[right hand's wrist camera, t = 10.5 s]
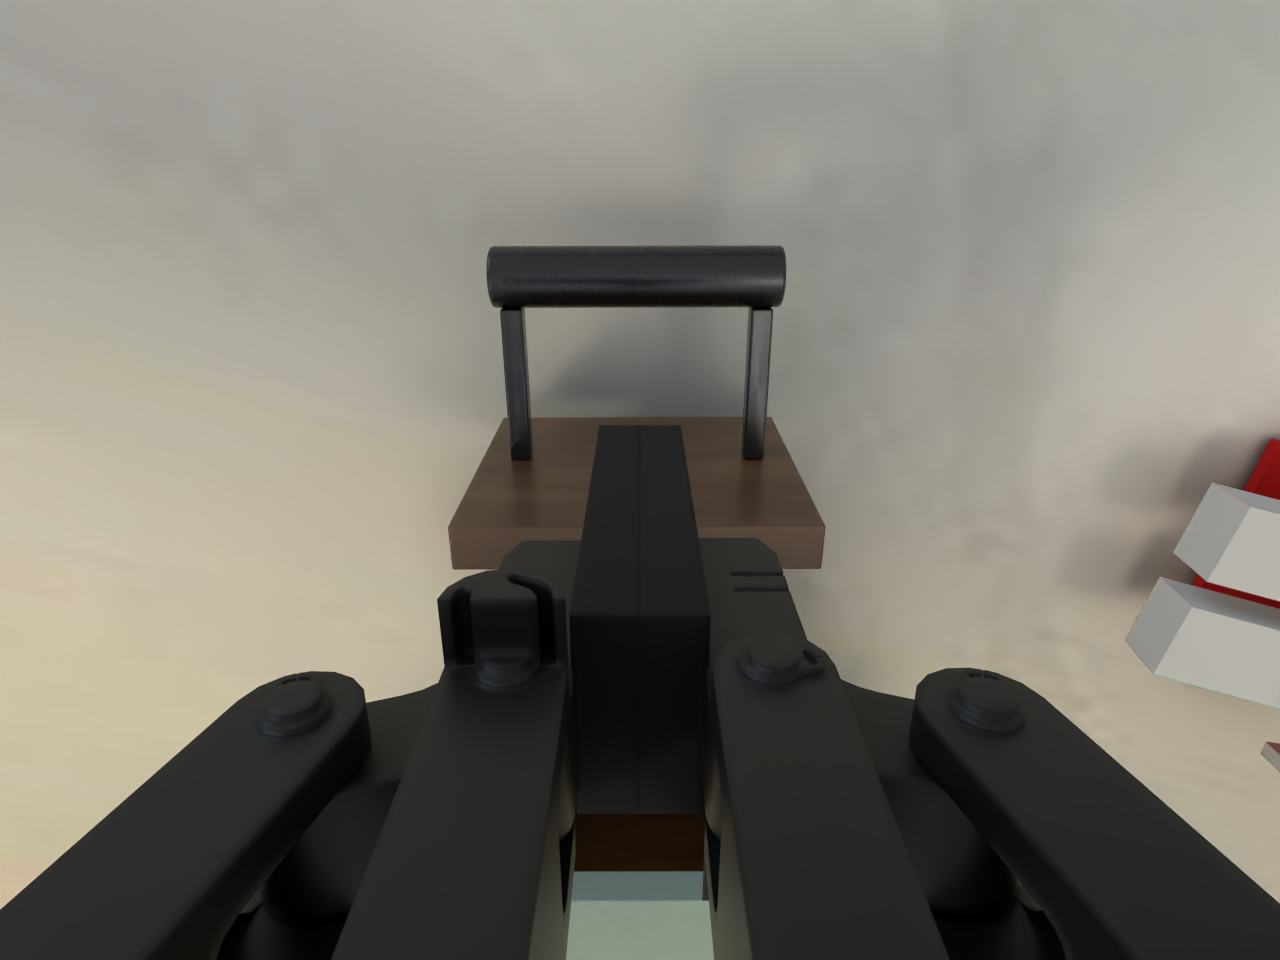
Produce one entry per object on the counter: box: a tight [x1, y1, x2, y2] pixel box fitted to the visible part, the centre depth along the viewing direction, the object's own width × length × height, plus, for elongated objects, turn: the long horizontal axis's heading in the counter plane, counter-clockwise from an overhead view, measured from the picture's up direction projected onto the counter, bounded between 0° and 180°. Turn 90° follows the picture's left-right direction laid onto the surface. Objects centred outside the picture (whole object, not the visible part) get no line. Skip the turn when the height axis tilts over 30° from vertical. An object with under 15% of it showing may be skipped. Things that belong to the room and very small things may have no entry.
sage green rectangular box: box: [566, 871, 714, 960], centre depth 30 cm, size 18×10×10 cm, turn 0°
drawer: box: [448, 246, 825, 871], centre depth 24 cm, size 22×9×8 cm, turn 0°
